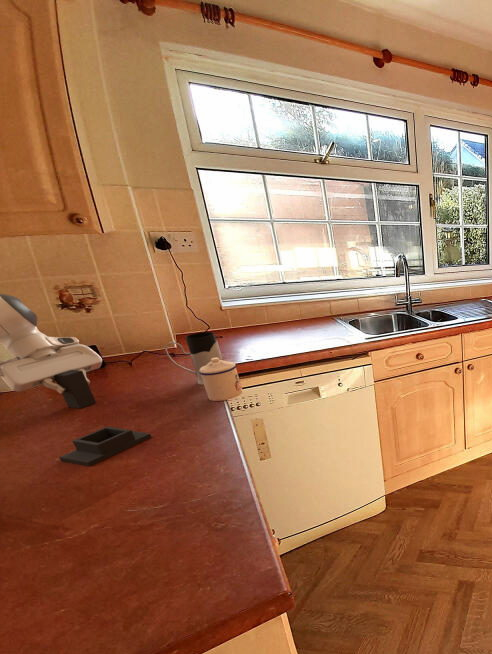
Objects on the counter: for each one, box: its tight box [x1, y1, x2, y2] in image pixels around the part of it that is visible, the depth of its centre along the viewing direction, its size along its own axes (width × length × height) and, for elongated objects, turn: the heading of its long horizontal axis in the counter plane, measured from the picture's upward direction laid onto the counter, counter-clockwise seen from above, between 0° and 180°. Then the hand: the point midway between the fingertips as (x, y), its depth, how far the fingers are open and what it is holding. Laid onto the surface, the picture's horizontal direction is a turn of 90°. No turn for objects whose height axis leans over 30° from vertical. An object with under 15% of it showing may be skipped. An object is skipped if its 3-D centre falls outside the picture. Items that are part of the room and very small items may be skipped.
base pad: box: [59, 426, 152, 467], centre depth 97 cm, size 13×9×4 cm
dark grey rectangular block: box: [54, 370, 97, 410], centre depth 119 cm, size 4×5×10 cm
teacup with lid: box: [199, 358, 244, 402], centre depth 124 cm, size 12×9×12 cm
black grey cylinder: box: [164, 331, 224, 386], centre depth 134 cm, size 9×14×15 cm, turn 114°
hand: (76, 387), depth 119 cm, fingers closed on dark grey rectangular block, 4 cm apart
